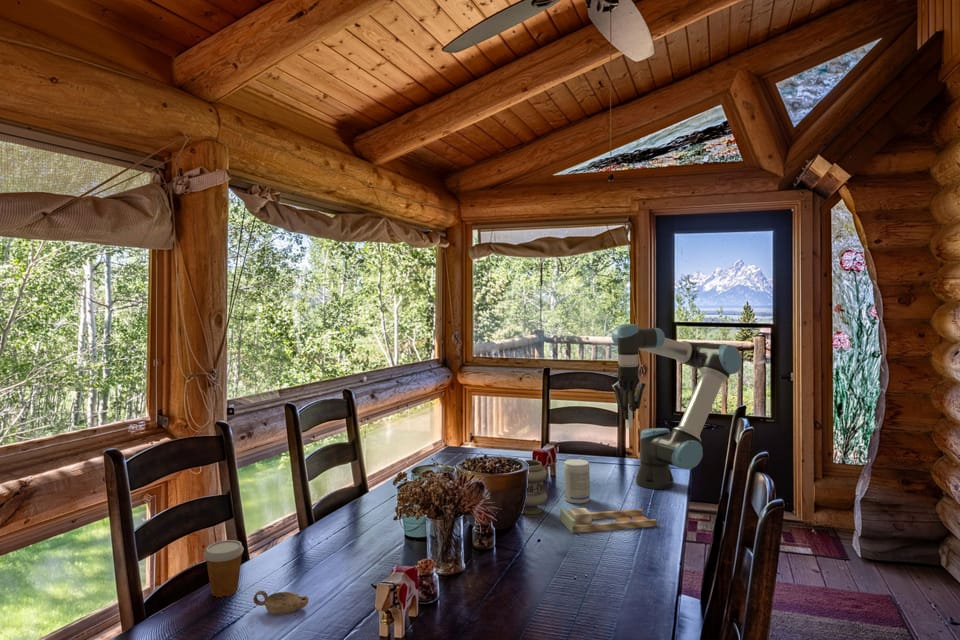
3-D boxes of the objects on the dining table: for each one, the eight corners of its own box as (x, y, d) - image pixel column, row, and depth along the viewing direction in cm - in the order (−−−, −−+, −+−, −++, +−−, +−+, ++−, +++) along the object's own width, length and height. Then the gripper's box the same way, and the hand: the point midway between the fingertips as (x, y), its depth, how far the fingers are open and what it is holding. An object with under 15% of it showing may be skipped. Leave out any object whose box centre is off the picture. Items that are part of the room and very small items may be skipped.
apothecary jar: (508, 514, 214) (508, 464, 214) (521, 504, 225) (521, 456, 224) (539, 520, 209) (539, 468, 208) (552, 509, 219) (552, 460, 219)
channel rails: (641, 514, 214) (641, 508, 214) (656, 526, 203) (656, 520, 203) (560, 520, 208) (561, 514, 208) (572, 532, 197) (572, 526, 197)
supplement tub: (594, 500, 230) (594, 462, 229) (579, 506, 223) (579, 466, 223) (574, 494, 237) (574, 457, 236) (558, 500, 230) (559, 461, 230)
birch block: (585, 522, 207) (585, 507, 207) (591, 528, 201) (591, 513, 201) (568, 523, 206) (568, 508, 206) (574, 529, 200) (574, 515, 200)
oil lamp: (312, 603, 151) (311, 583, 151) (303, 619, 144) (303, 598, 144) (260, 603, 151) (259, 583, 151) (248, 618, 144) (248, 598, 144)
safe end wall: (563, 520, 209) (563, 508, 208) (575, 532, 197) (575, 520, 197) (560, 520, 208) (560, 509, 208) (571, 532, 197) (571, 520, 197)
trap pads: (642, 515, 213) (642, 515, 213) (654, 524, 204) (654, 523, 204) (614, 518, 211) (614, 517, 211) (624, 526, 202) (624, 526, 202)
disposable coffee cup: (232, 580, 164) (232, 536, 163) (251, 590, 158) (250, 545, 157) (197, 593, 156) (197, 547, 156) (215, 604, 150) (215, 557, 150)
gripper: (639, 363, 230) (640, 424, 231) (607, 365, 227) (608, 427, 228) (649, 365, 223) (649, 428, 224) (616, 367, 220) (617, 431, 221)
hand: (629, 427), depth 226 cm, fingers closed
